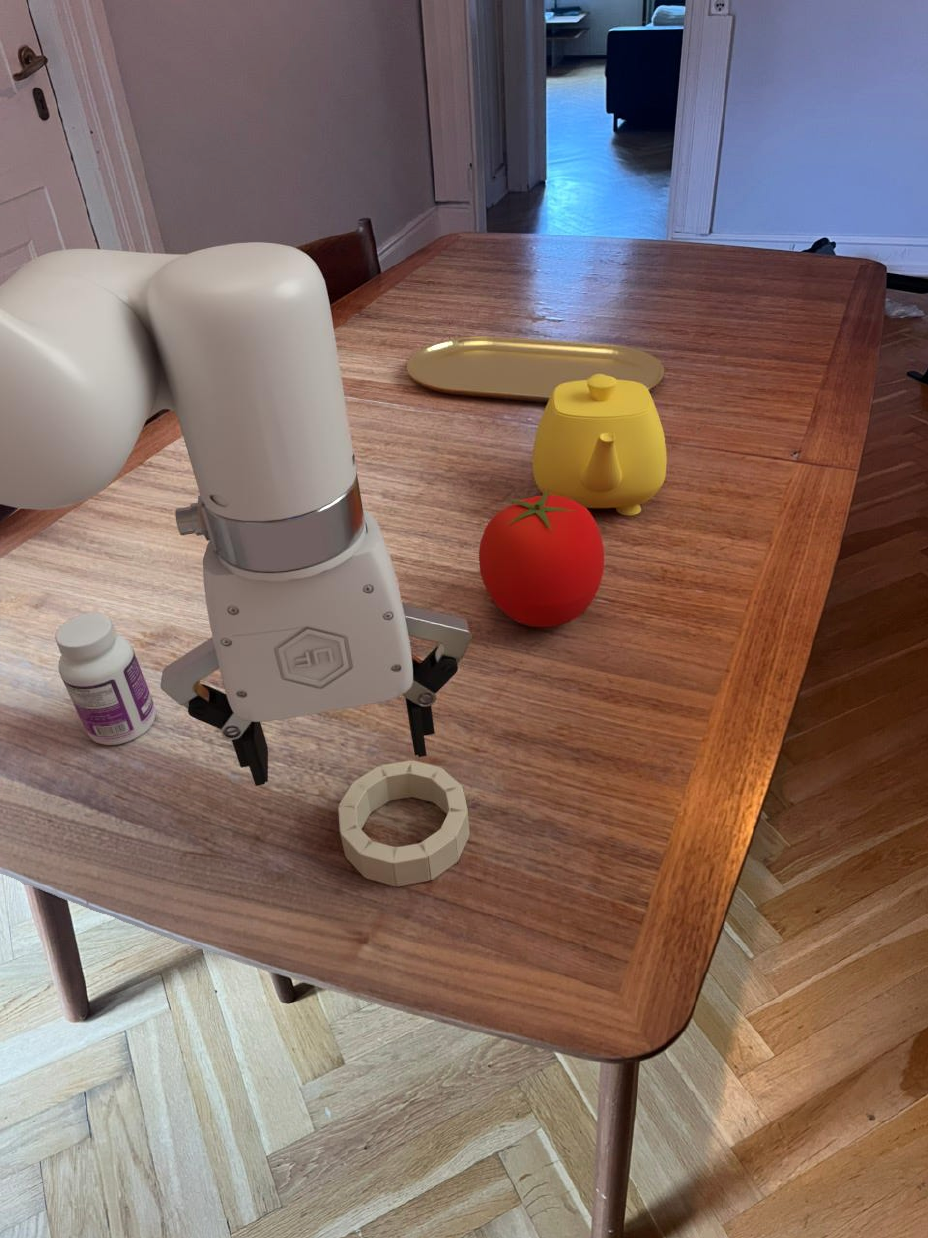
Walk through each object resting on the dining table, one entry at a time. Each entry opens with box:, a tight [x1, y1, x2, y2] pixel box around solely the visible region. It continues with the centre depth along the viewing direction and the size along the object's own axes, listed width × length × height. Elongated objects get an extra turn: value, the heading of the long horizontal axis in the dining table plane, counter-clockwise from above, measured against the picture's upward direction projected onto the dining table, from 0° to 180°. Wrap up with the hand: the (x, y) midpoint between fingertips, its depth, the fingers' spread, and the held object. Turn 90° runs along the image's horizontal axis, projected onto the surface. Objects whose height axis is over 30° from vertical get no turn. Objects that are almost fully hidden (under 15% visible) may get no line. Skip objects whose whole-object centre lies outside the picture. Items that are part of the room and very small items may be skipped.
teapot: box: [531, 374, 668, 516], centre depth 89 cm, size 14×20×13 cm
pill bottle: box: [54, 612, 157, 746], centre depth 67 cm, size 5×5×10 cm
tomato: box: [478, 490, 605, 628], centre depth 75 cm, size 10×11×11 cm
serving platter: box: [406, 335, 665, 404], centre depth 119 cm, size 19×35×2 cm, turn 71°
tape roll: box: [337, 760, 471, 888], centre depth 59 cm, size 8×8×2 cm
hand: (340, 754), depth 54 cm, fingers open, 9 cm apart
